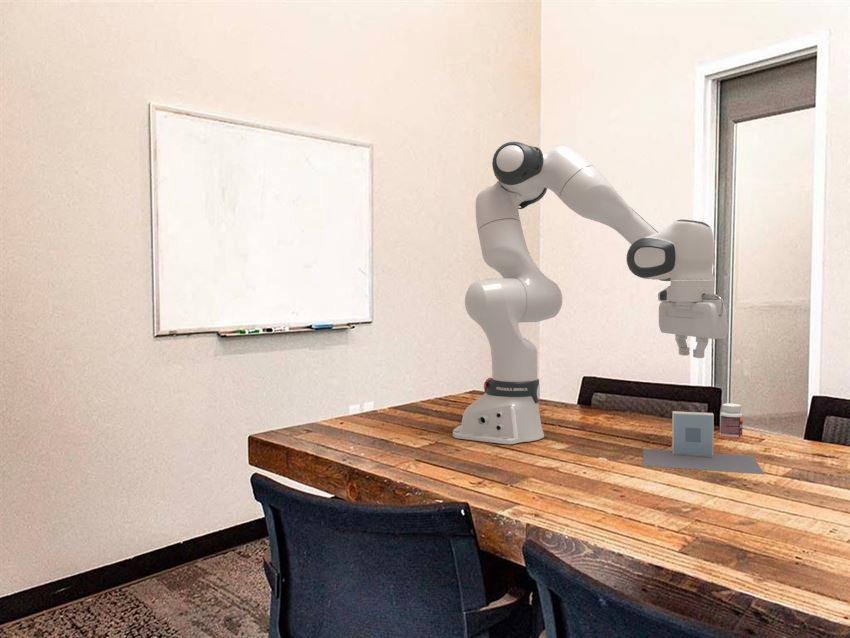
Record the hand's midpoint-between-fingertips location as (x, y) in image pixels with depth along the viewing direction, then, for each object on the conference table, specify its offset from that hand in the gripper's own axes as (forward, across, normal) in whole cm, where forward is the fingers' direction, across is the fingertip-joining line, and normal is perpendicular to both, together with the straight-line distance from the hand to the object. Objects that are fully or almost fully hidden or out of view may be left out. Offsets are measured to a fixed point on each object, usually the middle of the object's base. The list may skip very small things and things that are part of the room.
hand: (691, 356), depth 142 cm
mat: (+21, -9, +4) cm, 23 cm away
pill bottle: (+21, +7, -16) cm, 27 cm away
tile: (+20, -5, +3) cm, 21 cm away
